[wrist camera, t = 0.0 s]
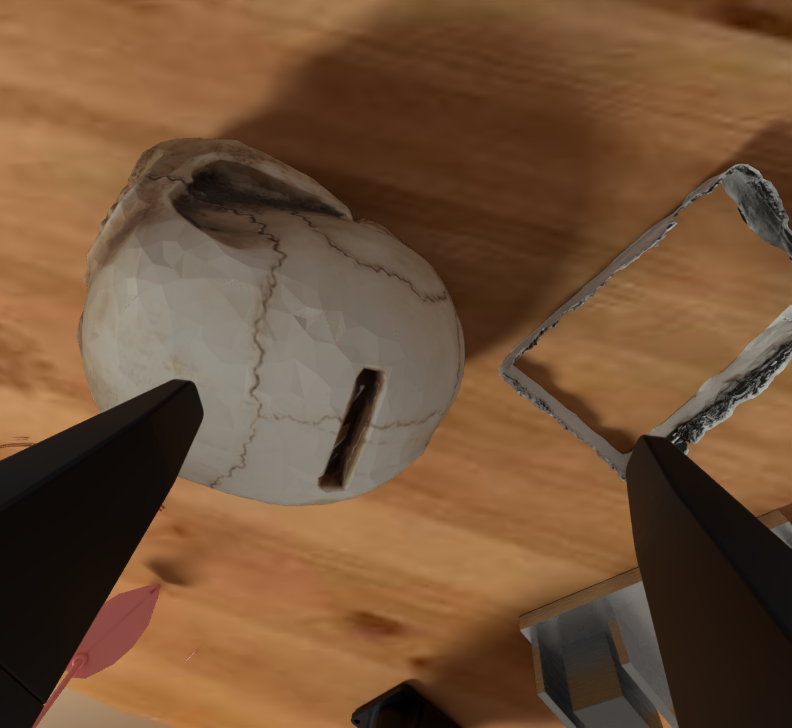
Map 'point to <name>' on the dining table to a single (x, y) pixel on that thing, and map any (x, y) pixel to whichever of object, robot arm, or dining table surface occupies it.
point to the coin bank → (269, 324)
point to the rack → (607, 653)
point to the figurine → (109, 634)
